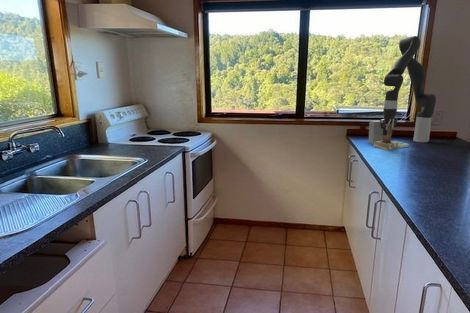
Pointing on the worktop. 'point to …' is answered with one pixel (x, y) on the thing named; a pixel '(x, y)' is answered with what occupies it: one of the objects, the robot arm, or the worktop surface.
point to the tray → (402, 144)
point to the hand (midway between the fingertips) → (387, 134)
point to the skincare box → (375, 131)
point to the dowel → (388, 134)
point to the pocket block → (385, 145)
